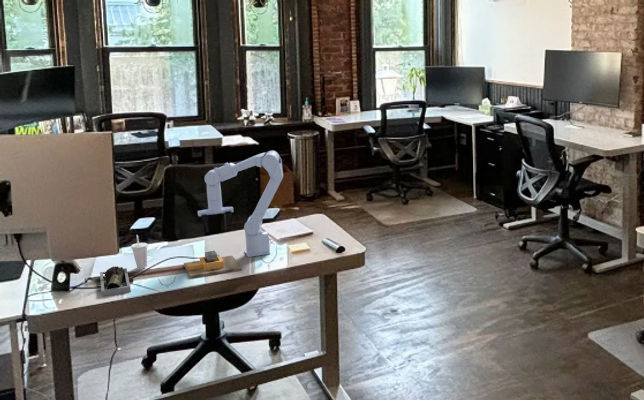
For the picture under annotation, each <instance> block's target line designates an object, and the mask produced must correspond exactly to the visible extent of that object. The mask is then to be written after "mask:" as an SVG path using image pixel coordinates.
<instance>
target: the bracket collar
mask: <svg viewBox="0 0 644 400" xmlns="http://www.w3.org/2000/svg"><path fill="white" fill-rule="evenodd" d="M221 257H222V256H220V254H217V259H218V261H215V262H209V263H206V262H205V256H201V257H199V261H200V262H199V263H192V264H187V268H188V270H194V269H200V268H203V269H204V270H210V269H216V268H222V267H224V262H223V260H222V258H221Z"/></svg>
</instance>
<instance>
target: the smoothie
mask: <svg viewBox="0 0 644 400" xmlns="http://www.w3.org/2000/svg"><path fill="white" fill-rule="evenodd" d="M139 240H140V239H139V235H138V234H136V243H133V244H131V246H130V249H131V250H132V253H133V258H134V261H135V265H136V268H139V269H138V270H144V269H143V268H145V267H148V246H149V245H148V243H147V242H140V241H139ZM145 269H146V268H145Z"/></svg>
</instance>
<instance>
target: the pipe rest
mask: <svg viewBox="0 0 644 400" xmlns="http://www.w3.org/2000/svg"><path fill="white" fill-rule="evenodd" d="M123 270H124V273H125V276H124V278H125V282H126V283H125V284H126V285H125V286H121V287H119V288H112V289H107V288H106V289H105V282H104V278H103V274H105V272H106V271H100V272H99V276H100V277H99V279H100V291H101V297H108V296H113V295H119V294H124V293H125V294H126V293H131V292H132V289H131V283H130V279H129V278H130V277H129V274H128V269H127V267H126V268H123Z"/></svg>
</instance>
